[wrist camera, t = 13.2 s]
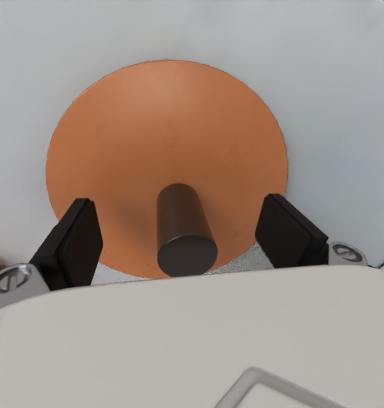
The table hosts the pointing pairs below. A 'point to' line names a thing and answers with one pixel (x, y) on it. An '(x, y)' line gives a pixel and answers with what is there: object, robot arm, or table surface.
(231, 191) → the lid
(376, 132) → the table surface
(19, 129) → the table surface
